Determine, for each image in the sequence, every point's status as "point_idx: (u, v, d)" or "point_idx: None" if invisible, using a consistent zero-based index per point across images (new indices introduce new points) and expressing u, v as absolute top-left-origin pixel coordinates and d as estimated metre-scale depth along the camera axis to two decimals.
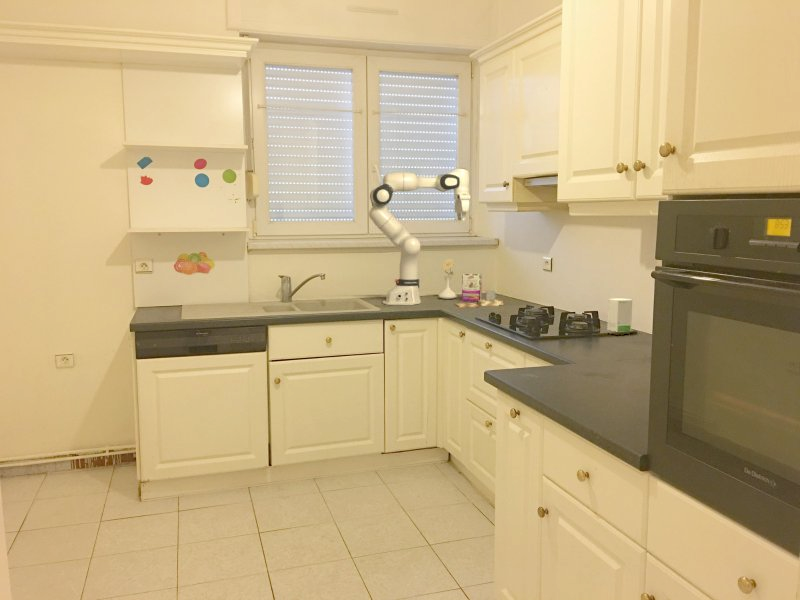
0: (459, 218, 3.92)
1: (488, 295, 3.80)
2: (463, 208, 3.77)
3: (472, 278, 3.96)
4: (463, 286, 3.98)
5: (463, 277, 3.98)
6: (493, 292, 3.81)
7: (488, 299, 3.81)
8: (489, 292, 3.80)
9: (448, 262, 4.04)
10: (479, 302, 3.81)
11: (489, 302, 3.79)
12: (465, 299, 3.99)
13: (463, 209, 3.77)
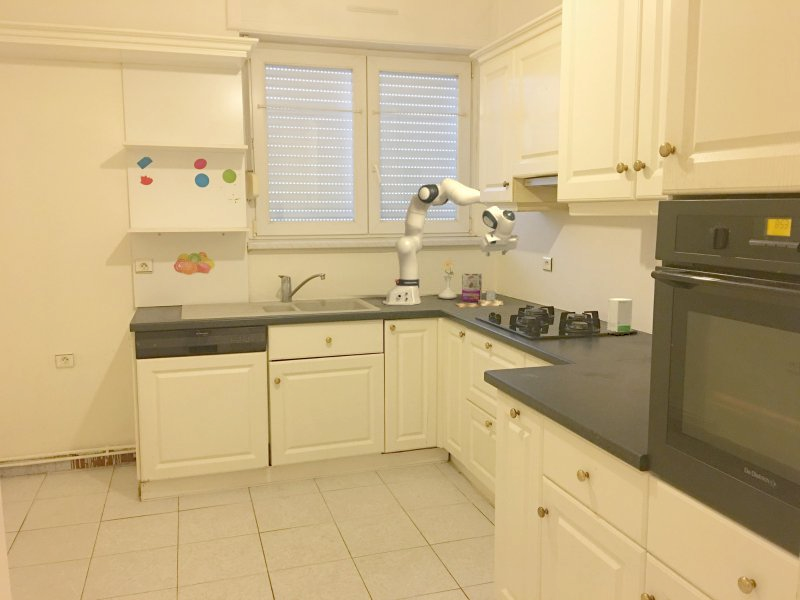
0: (502, 252, 3.67)
1: (488, 295, 3.80)
2: (480, 245, 3.60)
3: (472, 278, 3.96)
4: (463, 286, 3.98)
5: (463, 277, 3.98)
6: (493, 292, 3.81)
7: (488, 299, 3.81)
8: (489, 292, 3.80)
9: (448, 262, 4.04)
10: (479, 302, 3.81)
11: (489, 302, 3.79)
12: (465, 299, 3.99)
13: (480, 246, 3.60)
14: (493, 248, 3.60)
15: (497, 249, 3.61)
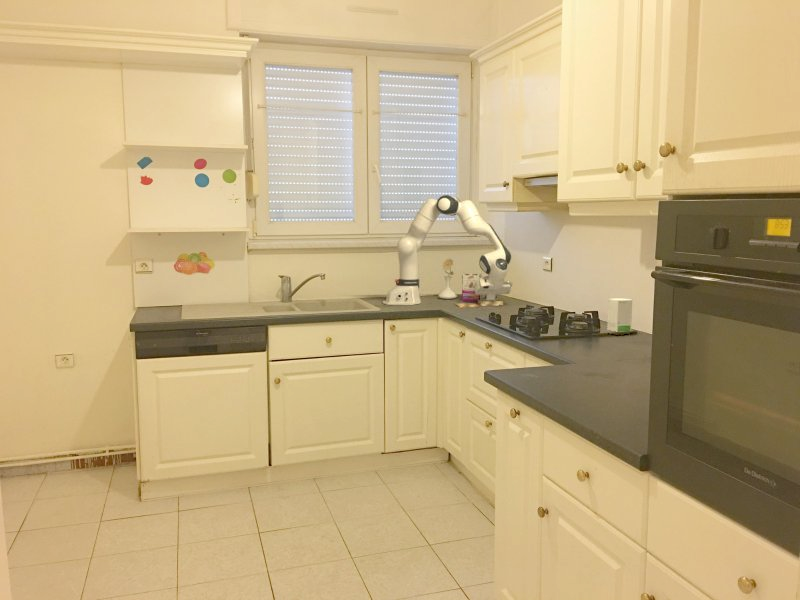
0: None
1: (488, 295, 3.80)
2: (475, 288, 3.77)
3: (472, 278, 3.96)
4: (463, 286, 3.98)
5: (463, 277, 3.98)
6: None
7: (488, 299, 3.81)
8: None
9: (448, 262, 4.04)
10: (479, 302, 3.81)
11: (489, 302, 3.79)
12: (465, 299, 3.99)
13: None
14: (487, 292, 3.75)
15: (491, 293, 3.77)
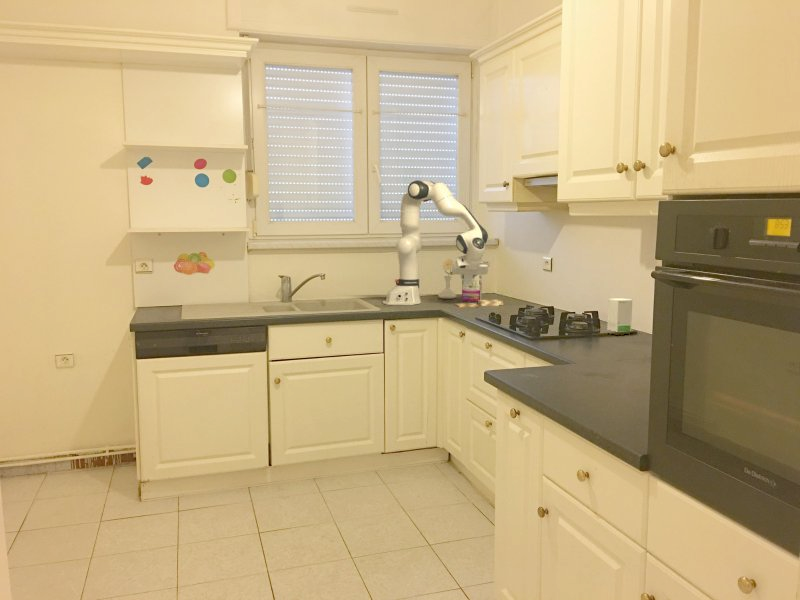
0: None
1: (465, 275, 3.76)
2: (452, 268, 3.72)
3: None
4: (463, 286, 3.98)
5: None
6: None
7: (465, 279, 3.77)
8: None
9: (448, 262, 4.04)
10: (479, 302, 3.81)
11: (489, 302, 3.79)
12: (465, 299, 3.99)
13: (452, 268, 3.73)
14: (464, 272, 3.71)
15: (468, 273, 3.72)
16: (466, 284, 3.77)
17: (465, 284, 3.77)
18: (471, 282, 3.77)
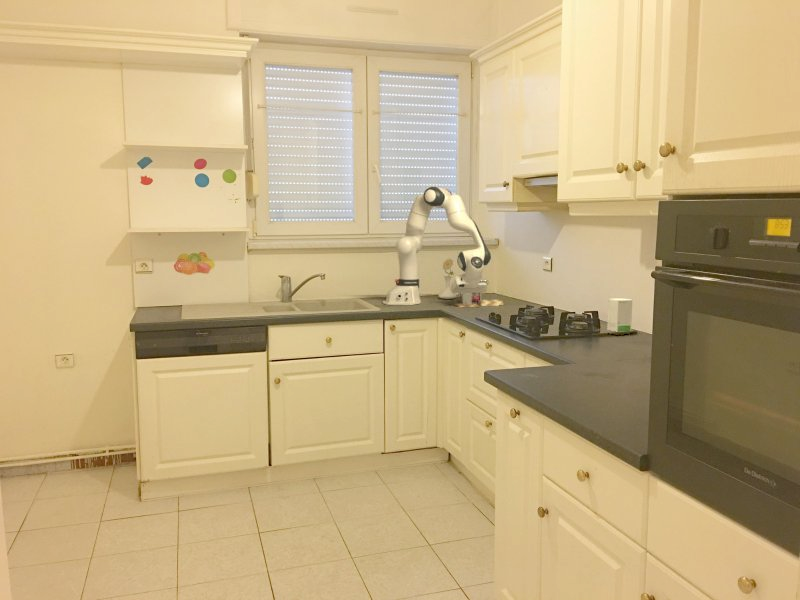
0: (472, 294, 3.79)
1: (464, 295, 3.77)
2: (451, 286, 3.73)
3: None
4: None
5: None
6: None
7: (464, 299, 3.78)
8: None
9: (448, 262, 4.04)
10: (479, 302, 3.81)
11: (489, 302, 3.79)
12: None
13: (451, 287, 3.74)
14: (463, 290, 3.72)
15: (467, 291, 3.73)
16: (465, 303, 3.78)
17: (464, 303, 3.78)
18: (470, 301, 3.78)
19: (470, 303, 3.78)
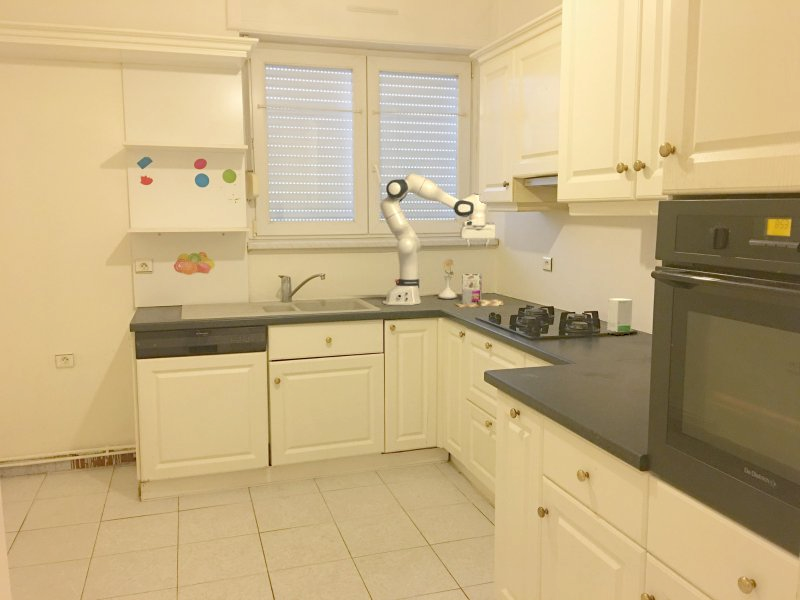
0: (484, 244, 3.82)
1: (464, 295, 3.77)
2: (460, 234, 3.80)
3: (472, 278, 3.96)
4: (463, 286, 3.98)
5: (463, 277, 3.98)
6: (470, 292, 3.78)
7: (464, 299, 3.78)
8: (465, 292, 3.77)
9: (448, 262, 4.04)
10: (479, 302, 3.81)
11: (489, 302, 3.79)
12: None
13: (460, 235, 3.80)
14: (472, 234, 3.78)
15: (476, 236, 3.79)
16: (465, 303, 3.78)
17: (464, 303, 3.78)
18: (470, 301, 3.78)
19: (470, 303, 3.78)
